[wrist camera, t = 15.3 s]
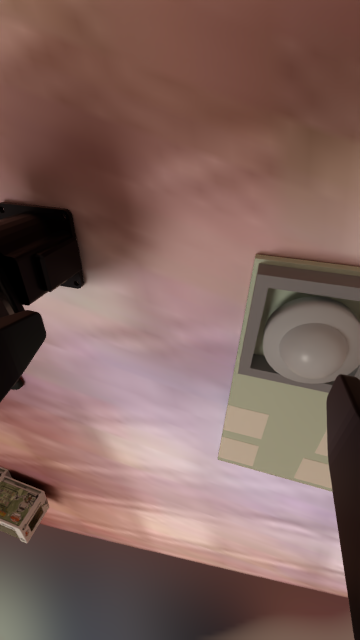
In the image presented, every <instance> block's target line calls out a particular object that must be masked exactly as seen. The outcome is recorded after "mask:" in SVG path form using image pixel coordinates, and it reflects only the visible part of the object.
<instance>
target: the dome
mask: <svg viewBox="0 0 360 640" xmlns="http://www.w3.org/2000/svg"><path fill="white" fill-rule="evenodd" d="M263 351H264V355H265V358H266V360H267V362H268V364H269V365H270V366H271V367H272V368H273V369H274V370H275V371H276V372H277V373H279V374H280V375H282V376H284V377H286V378H288V379H290V380H293V381H297V382H301V383H309V384H319V383H327V382H331V381H335V379H336V377H337V376H338V375H340V374H344V375H348V374H350V373H351V372H353V371H354V370H355V369H356V368H357V367H358V366H359V365H360V322H359V320H358V318H357V317H356V315H355V314H354V312H353V311H352V310H351V309H350V308H348V307H347V306H346V305H344V304H343V303H341V302H338V301H336V300H333V299H330V298H325V297H317V296H315V297H303V298H298V299H295V300H292V301H289V302H287V303H285V304H283V305H282V306H280V307H279V308H278V309H276V310H275V311H274V312H273V313H272V314H271V316H270V317H269V318H268V320H267V322H266V325H265V328H264V338H263Z"/></svg>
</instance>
